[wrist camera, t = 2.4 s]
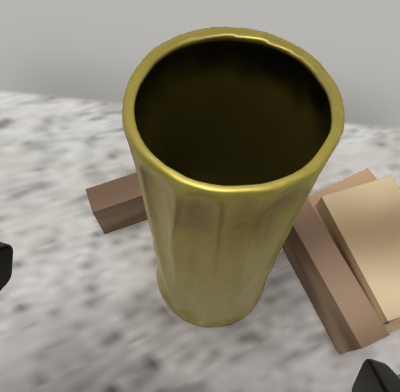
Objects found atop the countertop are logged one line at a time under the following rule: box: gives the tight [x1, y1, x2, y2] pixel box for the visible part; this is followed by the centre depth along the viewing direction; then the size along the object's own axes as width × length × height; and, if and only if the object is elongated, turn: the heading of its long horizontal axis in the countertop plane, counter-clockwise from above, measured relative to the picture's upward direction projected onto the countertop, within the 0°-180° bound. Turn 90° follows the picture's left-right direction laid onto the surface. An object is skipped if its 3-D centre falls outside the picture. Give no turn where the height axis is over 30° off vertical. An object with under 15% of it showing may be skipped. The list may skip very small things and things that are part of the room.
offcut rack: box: [86, 168, 400, 354], centre depth 20 cm, size 12×16×4 cm
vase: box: [122, 27, 345, 327], centre depth 15 cm, size 6×6×14 cm
